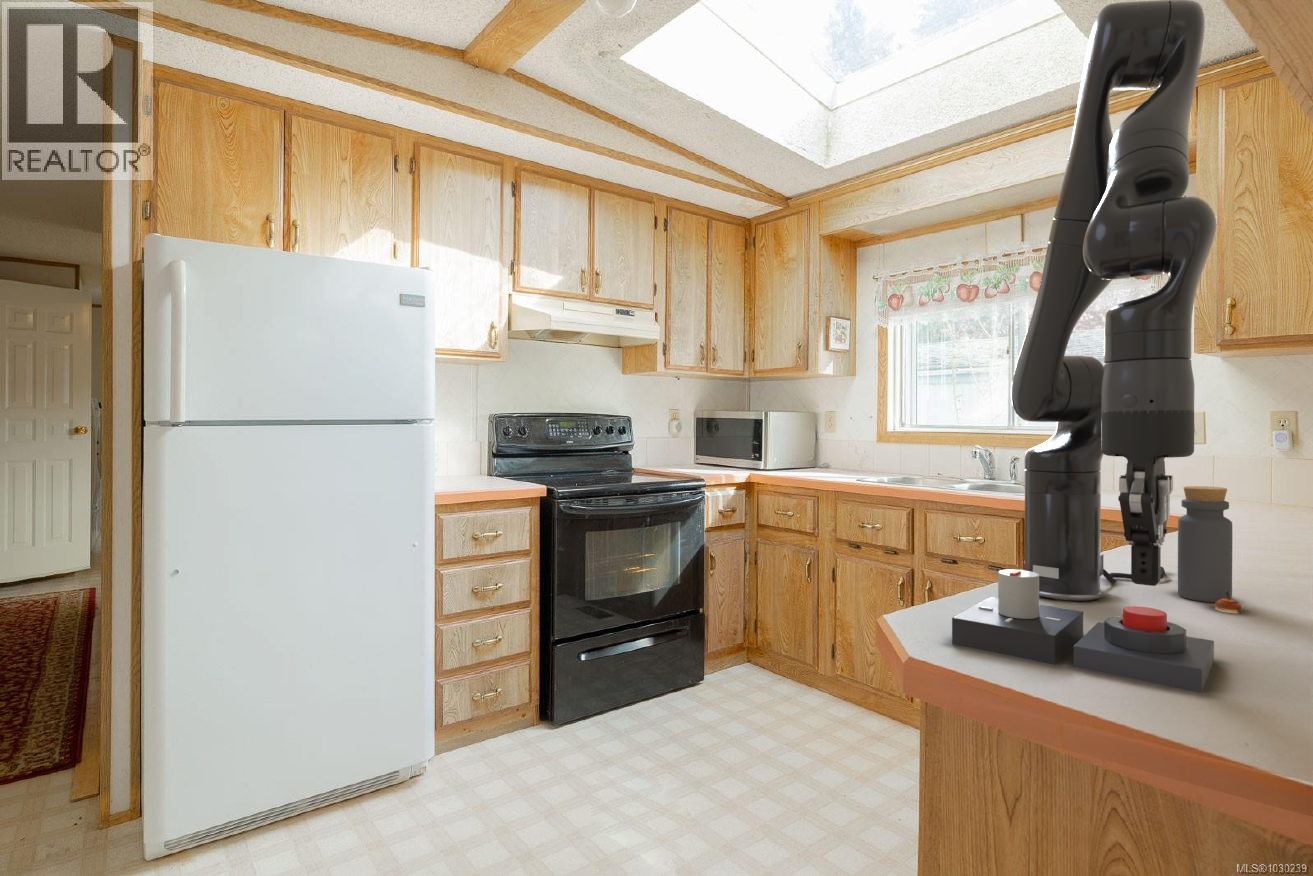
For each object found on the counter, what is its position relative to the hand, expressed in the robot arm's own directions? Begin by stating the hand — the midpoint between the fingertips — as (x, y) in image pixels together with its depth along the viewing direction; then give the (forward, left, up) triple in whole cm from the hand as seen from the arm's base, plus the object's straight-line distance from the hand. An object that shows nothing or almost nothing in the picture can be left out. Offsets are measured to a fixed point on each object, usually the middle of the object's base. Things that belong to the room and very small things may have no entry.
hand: (1145, 583), depth 70 cm
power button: (0, 0, -4) cm, 4 cm away
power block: (0, 0, -8) cm, 8 cm away
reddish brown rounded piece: (-31, +4, -8) cm, 32 cm away
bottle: (-37, +1, -8) cm, 38 cm away
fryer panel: (0, -12, -8) cm, 14 cm away
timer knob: (0, -12, -5) cm, 13 cm away
